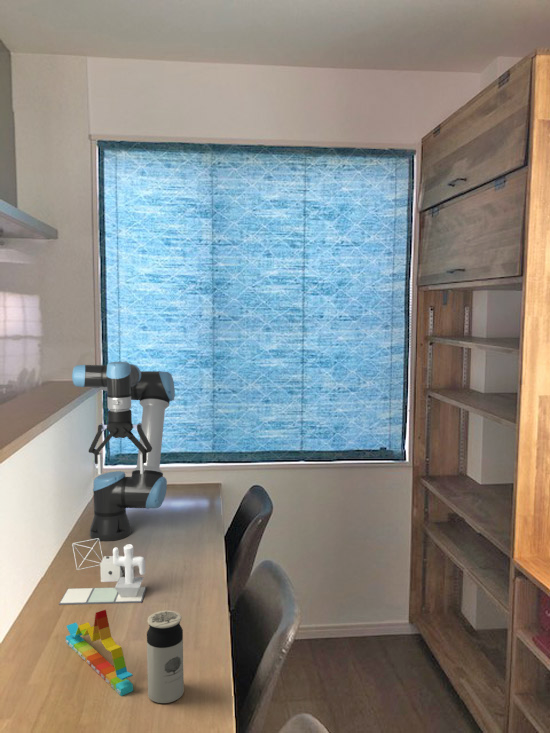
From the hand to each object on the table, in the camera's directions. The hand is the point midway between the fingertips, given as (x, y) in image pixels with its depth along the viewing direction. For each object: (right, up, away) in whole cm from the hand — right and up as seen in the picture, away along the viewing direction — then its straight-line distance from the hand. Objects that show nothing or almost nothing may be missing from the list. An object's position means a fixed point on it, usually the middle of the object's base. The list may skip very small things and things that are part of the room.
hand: (121, 473), depth 215 cm
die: (-1, -33, -6) cm, 33 cm away
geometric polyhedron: (-12, -32, +5) cm, 34 cm away
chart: (+7, -38, -55) cm, 68 cm away
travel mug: (+26, -39, -67) cm, 82 cm away
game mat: (-1, -34, -19) cm, 39 cm away
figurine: (+7, -34, -18) cm, 39 cm away
